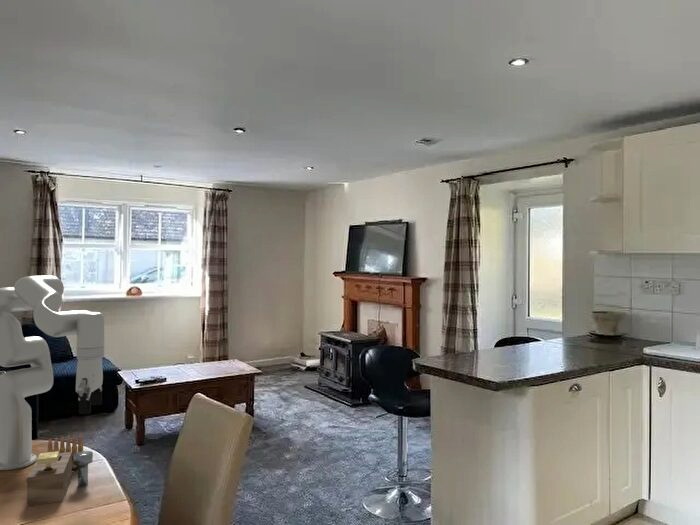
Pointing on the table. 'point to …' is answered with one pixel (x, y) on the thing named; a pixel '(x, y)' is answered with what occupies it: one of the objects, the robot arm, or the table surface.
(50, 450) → the ammunition clip
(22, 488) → the table surface
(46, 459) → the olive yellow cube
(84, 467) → the pin
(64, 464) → the block
